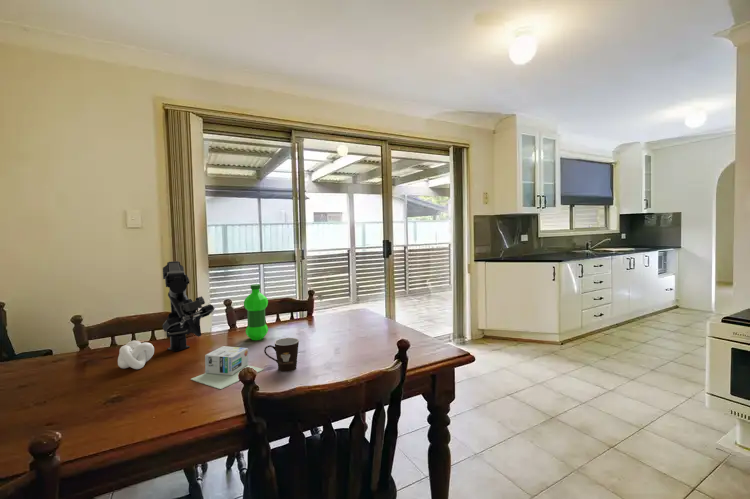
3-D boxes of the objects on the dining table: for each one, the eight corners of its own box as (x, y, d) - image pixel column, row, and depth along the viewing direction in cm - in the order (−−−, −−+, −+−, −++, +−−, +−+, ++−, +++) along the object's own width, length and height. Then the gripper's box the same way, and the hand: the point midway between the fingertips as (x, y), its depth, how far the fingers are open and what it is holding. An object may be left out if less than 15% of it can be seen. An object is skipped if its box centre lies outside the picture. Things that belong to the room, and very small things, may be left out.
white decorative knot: (150, 358, 146) (149, 335, 145) (159, 366, 137) (157, 342, 137) (116, 365, 138) (114, 342, 138) (123, 374, 130) (121, 350, 129)
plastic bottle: (273, 337, 171) (271, 284, 170) (255, 343, 162) (253, 287, 161) (259, 333, 177) (257, 282, 175) (240, 339, 168) (238, 285, 166)
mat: (190, 379, 125) (190, 378, 125) (234, 362, 140) (234, 361, 140) (220, 389, 117) (220, 388, 117) (263, 369, 132) (263, 369, 132)
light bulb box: (204, 373, 129) (232, 376, 127) (204, 354, 128) (231, 357, 126) (223, 362, 139) (249, 365, 137) (222, 345, 139) (248, 347, 137)
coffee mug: (303, 365, 136) (303, 339, 136) (291, 374, 128) (290, 346, 128) (277, 361, 140) (276, 336, 140) (263, 370, 132) (262, 343, 131)
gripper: (164, 299, 132) (184, 336, 129) (210, 285, 147) (229, 318, 145) (153, 313, 137) (173, 349, 135) (199, 298, 153) (217, 330, 151)
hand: (199, 336), depth 141 cm, fingers closed
